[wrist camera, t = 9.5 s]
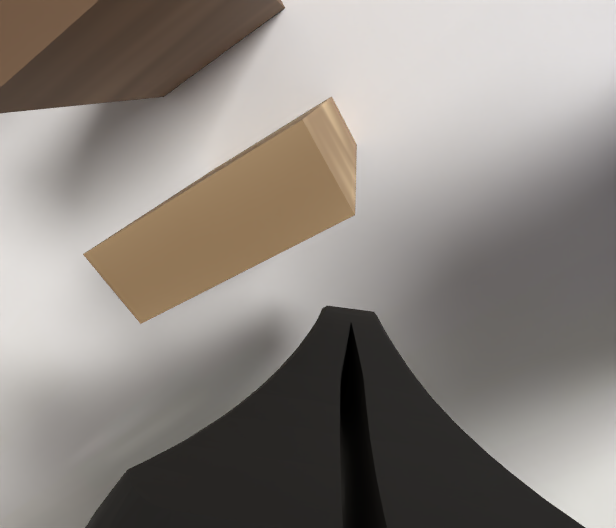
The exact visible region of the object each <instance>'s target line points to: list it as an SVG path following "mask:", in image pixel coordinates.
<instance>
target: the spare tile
mask: <svg viewBox="0 0 616 528" xmlns="http://www.w3.org/2000/svg"><path fill="white" fill-rule="evenodd" d="M356 150H357V145H356V143H355V141H354V139H353V137H352V135H351V133H350V131H349V129H348V127H347V125H346V123H345V121H344V120H343V118H342V116H341V114H340V112H339V110H338V108H337V106H336V104H335V102H334V100H333V98H332V97H330V98H329V99H327V100H325V101H324V102H322V103H320V104H319V105H317V106H316V107H314V108H312V109H311V110H309V111H308V112H306V113H304V114H303V115H301V116H299V117H298V118H296V119H295V120H293V121H291V122H290V123H288V124H287V125H285V126H283V127H282V128H280V129H278V130H277V131H275V132H274V133H272V134H270V135H269V136H267V137H265V138H264V139H262V140H261V141H259V142H257V143H256V144H254V145H253V146H251V147H249V148H248V149H246V150H244V151H243V152H241V153H240V154H238V155H236V156H235V157H233V158H232V159H230V160H228V161H227V162H225V163H223V164H222V165H220V166H219V167H217V168H215V169H214V170H212V171H211V172H209V173H208V174H206V175H204V176H203V177H201V178H200V179H198V180H197V181H195V182H194V183H192V184H191V185H189V186H188V187H186V188H184V189H183V190H181V191H180V192H178V193H177V194H175V195H174V196H172V197H171V198H169V199H168V200H166V201H164V202H163V203H161V204H160V205H158V206H157V207H155V208H154V209H152V210H151V211H149V212H147V213H146V214H144V215H143V216H141V217H140V218H138V219H137V220H135V221H134V222H132V223H131V224H129V225H127V226H126V227H124V228H123V229H121V230H120V231H118V232H117V233H115V234H114V235H112V236H111V237H109V238H107V239H106V240H104V241H103V242H101V243H100V244H98V245H97V246H95V247H94V248H92V249H91V250H89V251H87V252H86V253H84V254H83V255H84V256H85V257H86V259H87V260H88V261H89V262H90V263H91V265H92V266H93V267H94V268H95V269H96V271H97V272H98V273H99V274H100V275H101V277H102V278H103V279H104V280H105V281H106V283H107V284H108V285H109V286H110V287H111V289H112V290H113V291H114V292H115V293H116V295H117V296H118V297H119V298H120V300H121V301H122V302H123V303H124V304H125V306H126V307H127V308H128V309H129V310H130V312H131V313H132V314H133V315H134V316H135V318H136V319H137V320H138V321H139V322H140V324H141V323H143V322H145V321H147V320H149V319H151V318H153V317H155V316H157V315H159V314H161V313H163V312H165V311H167V310H169V309H171V308H173V307H175V306H177V305H179V304H181V303H183V302H185V301H187V300H189V299H191V298H193V297H194V296H196V295H198V294H200V293H202V292H204V291H206V290H208V289H210V288H212V287H214V286H216V285H218V284H220V283H222V282H224V281H226V280H228V279H230V278H232V277H234V276H236V275H238V274H240V273H242V272H244V271H246V270H248V269H250V268H252V267H254V266H255V265H257V264H259V263H261V262H263V261H265V260H267V259H269V258H271V257H273V256H275V255H277V254H279V253H281V252H283V251H285V250H287V249H289V248H291V247H293V246H295V245H297V244H299V243H301V242H303V241H305V240H307V239H309V238H311V237H313V236H315V235H316V234H318V233H320V232H322V231H324V230H326V229H328V228H330V227H332V226H334V225H336V224H338V223H340V222H342V221H344V220H346V219H348V218H350V217H352V216H354V215H355V192H356Z"/></svg>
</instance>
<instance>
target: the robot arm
mask: <svg viewBox="0 0 616 528" xmlns="http://www.w3.org/2000/svg"><path fill="white" fill-rule="evenodd" d="M86 528H585V527H584V526H582V525H581V524H579V523H578V522H576V521H575V520H574V519H572V518H571V517H569V516H568V515H566V514H565V513H564V512H562V511H561V510H559V509H558V508H556V507H555V506H553V505H552V504H551V503H549V502H548V501H546V500H545V499H544V498H542V497H541V496H540V495H538V494H537V493H536V492H535V491H533V490H532V489H531V488H530V487H528V486H527V485H526V484H524V483H523V482H522V481H521V480H519V479H518V478H517V477H516V476H514V475H513V474H512V473H510V472H509V471H508V470H507V469H506V468H504V467H503V466H502V465H501V464H500V463H498V462H497V461H496V460H495V459H494V458H493V457H491V456H490V455H489V454H488V453H487V452H486V451H485V450H484V449H482V448H481V447H480V446H479V445H478V444H477V443H476V442H475V441H474V440H473V439H472V438H470V437H469V436H468V435H467V434H466V433H465V432H464V431H463V430H462V429H461V428H460V427H459V426H458V425H457V424H456V423H455V422H454V421H453V420H452V419H451V418H450V417H449V416H448V415H447V414H446V413H445V412H444V411H443V409H442V408H441V407H440V406H439V405H438V404H437V403H436V402H435V401H434V400H433V399H432V397H431V396H430V395H429V394H428V393H427V391H426V390H425V389H424V388H423V386H422V385H421V384H420V382H419V381H418V380H417V379H416V377H415V376H414V375H413V373H412V372H411V370H410V369H409V368H408V366H407V365H406V363H405V362H404V360H403V359H402V357H401V356H400V354H399V353H398V351H397V350H396V348H395V347H394V345H393V343H392V342H391V340H390V338H389V337H388V335H387V333H386V332H385V330H384V328H383V326H382V324H381V323H380V321H379V319H378V317H377V315H376V314H375V313H374V312H371V311H363V310H356V309H348V308H341V307H333V306H326V307H324V308H323V309H322V310H321V313H320V315H319V317H318V319H317V321H316V323H315V324H314V326H313V327H312V329H311V331H310V332H309V333H308V335H307V336H306V337H305V339H304V340H303V341H302V343H301V344H300V345H299V347H298V348H297V349H296V350H295V352H294V353H293V354H292V355H291V356H290V357H289V358H288V359H287V361H286V362H285V363H284V364H283V365H282V366H281V367H280V368H279V369H278V370H277V371H276V372H275V373H274V374H273V375H272V376H271V377H270V378H269V379H268V380H267V381H266V382H265V383H264V384H263V385H262V386H260V387H259V388H258V389H257V390H256V391H255V392H254V393H252V394H251V395H250V396H249V397H247V398H246V399H245V400H244V401H242V402H241V403H240V404H239V405H237V406H236V407H235V408H233V409H232V410H231V411H229V412H228V413H227V414H225V415H224V416H222V417H221V418H219V419H218V420H216V421H215V422H213V423H212V424H210V425H208V426H207V427H205V428H204V429H202V430H201V431H199V432H198V433H196V434H194V435H193V436H191V437H190V438H188V439H186V440H185V441H183V442H181V443H180V444H178V445H176V446H174V447H172V448H170V449H168V450H166V451H164V452H162V453H160V454H158V455H156V456H155V457H153V458H151V459H149V460H147V461H145V462H143V463H141V464H139V465H137V466H134V467H132V468H130V469H128V470H127V471H126V473H125V474H124V475H123V476H122V478H121V479H120V480H119V482H118V483H117V484H116V485H115V487H114V488H113V489H112V491H111V492H110V493H109V495H108V496H107V497H106V499H105V500H104V501H103V503H102V504H101V505H100V507H99V508H98V509H97V511H96V512H95V514H94V515H93V517H92V518H91V520H90V521H89V523H88V525H87V526H86Z"/></svg>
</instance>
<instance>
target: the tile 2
mask: <svg viewBox="0 0 616 528" xmlns="http://www.w3.org/2000/svg"><path fill="white" fill-rule="evenodd" d="M284 8H285V7H284V5H283V3H282V1H281V0H0V113H7V112H17V111H27V110H37V109H47V108H57V107H66V106H76V105H86V104H96V103H106V102H116V101H126V100H136V99H146V98H155V97H164V96H165V95H167V94H168V93H169V92H171V91H172V90H173V89H175V88H176V87H178V86H179V85H180V84H182V83H183V82H184V81H186V80H187V79H188V78H190V77H191V76H193V75H194V74H195V73H197V72H198V71H199V70H201V69H202V68H204V67H205V66H206V65H208V64H209V63H210V62H212V61H213V60H214V59H216V58H217V57H219V56H220V55H221V54H223V53H224V52H225V51H227V50H228V49H229V48H231V47H232V46H234V45H235V44H236V43H238V42H239V41H240V40H242V39H243V38H245V37H246V36H247V35H249V34H250V33H251V32H253V31H254V30H255V29H257V28H258V27H260V26H261V25H262V24H264V23H265V22H266V21H268V20H269V19H270V18H272V17H273V16H275V15H276V14H277V13H279V12H280V11H281V10H283V9H284Z"/></svg>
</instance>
